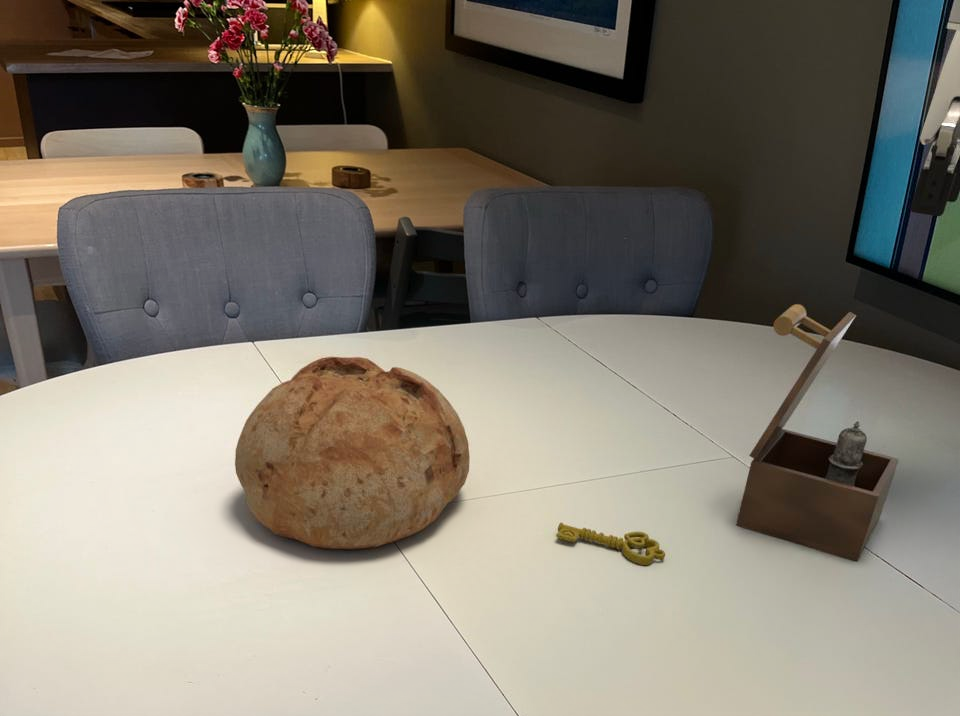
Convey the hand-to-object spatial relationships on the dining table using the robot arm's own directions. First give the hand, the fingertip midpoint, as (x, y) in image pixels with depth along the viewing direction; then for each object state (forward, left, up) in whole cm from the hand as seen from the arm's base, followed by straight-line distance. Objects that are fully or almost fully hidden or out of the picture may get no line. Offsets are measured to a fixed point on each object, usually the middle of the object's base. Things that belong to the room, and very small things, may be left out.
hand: (933, 206), depth 104 cm
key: (+28, +24, -32) cm, 49 cm away
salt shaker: (+4, +13, -32) cm, 34 cm away
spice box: (+6, +12, -32) cm, 35 cm away
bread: (+57, +22, -32) cm, 69 cm away
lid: (+10, +11, -17) cm, 23 cm away
